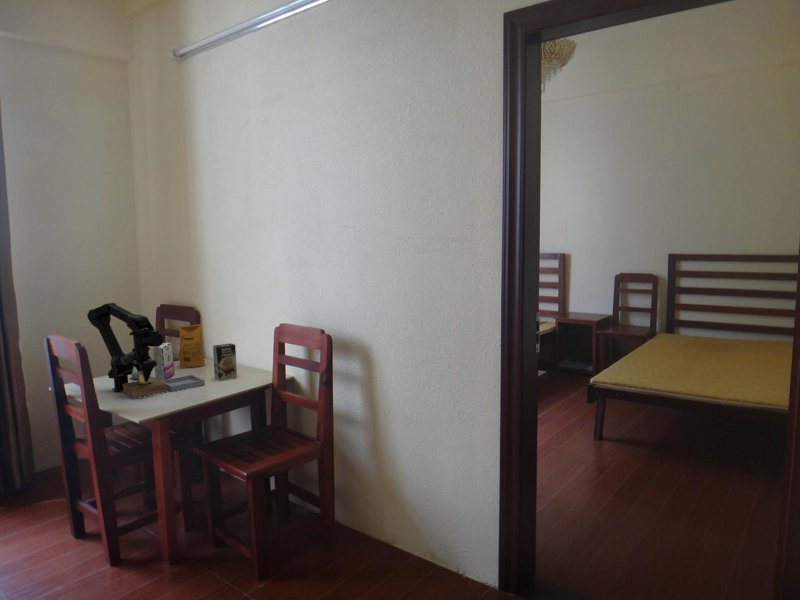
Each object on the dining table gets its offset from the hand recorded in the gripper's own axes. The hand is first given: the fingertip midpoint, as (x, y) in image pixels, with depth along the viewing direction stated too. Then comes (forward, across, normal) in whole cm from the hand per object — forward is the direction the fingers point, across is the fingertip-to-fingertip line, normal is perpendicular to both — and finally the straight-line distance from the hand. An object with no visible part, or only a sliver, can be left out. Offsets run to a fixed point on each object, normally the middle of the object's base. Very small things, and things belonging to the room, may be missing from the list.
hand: (144, 380), depth 242 cm
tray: (+6, +1, +16) cm, 17 cm away
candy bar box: (+6, -19, +15) cm, 25 cm away
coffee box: (+6, +3, +36) cm, 37 cm away
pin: (+6, 0, 0) cm, 6 cm away
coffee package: (+6, -34, +34) cm, 48 cm away
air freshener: (+6, -29, +7) cm, 30 cm away
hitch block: (+6, 0, 0) cm, 6 cm away
